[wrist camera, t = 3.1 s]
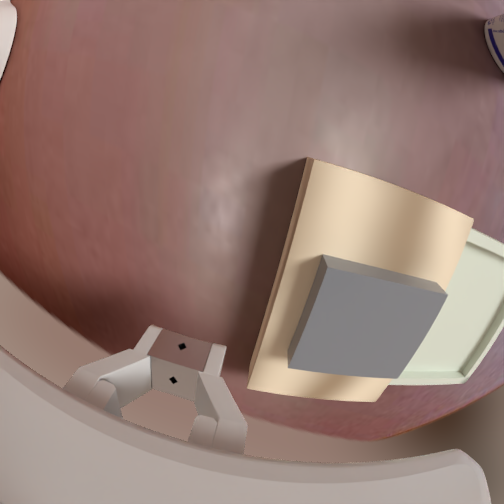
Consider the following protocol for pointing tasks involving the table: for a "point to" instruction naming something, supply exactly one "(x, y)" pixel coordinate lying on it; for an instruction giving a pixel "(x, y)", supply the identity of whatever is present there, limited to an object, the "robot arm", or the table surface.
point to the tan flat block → (353, 249)
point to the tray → (463, 318)
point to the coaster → (363, 320)
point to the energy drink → (496, 39)
